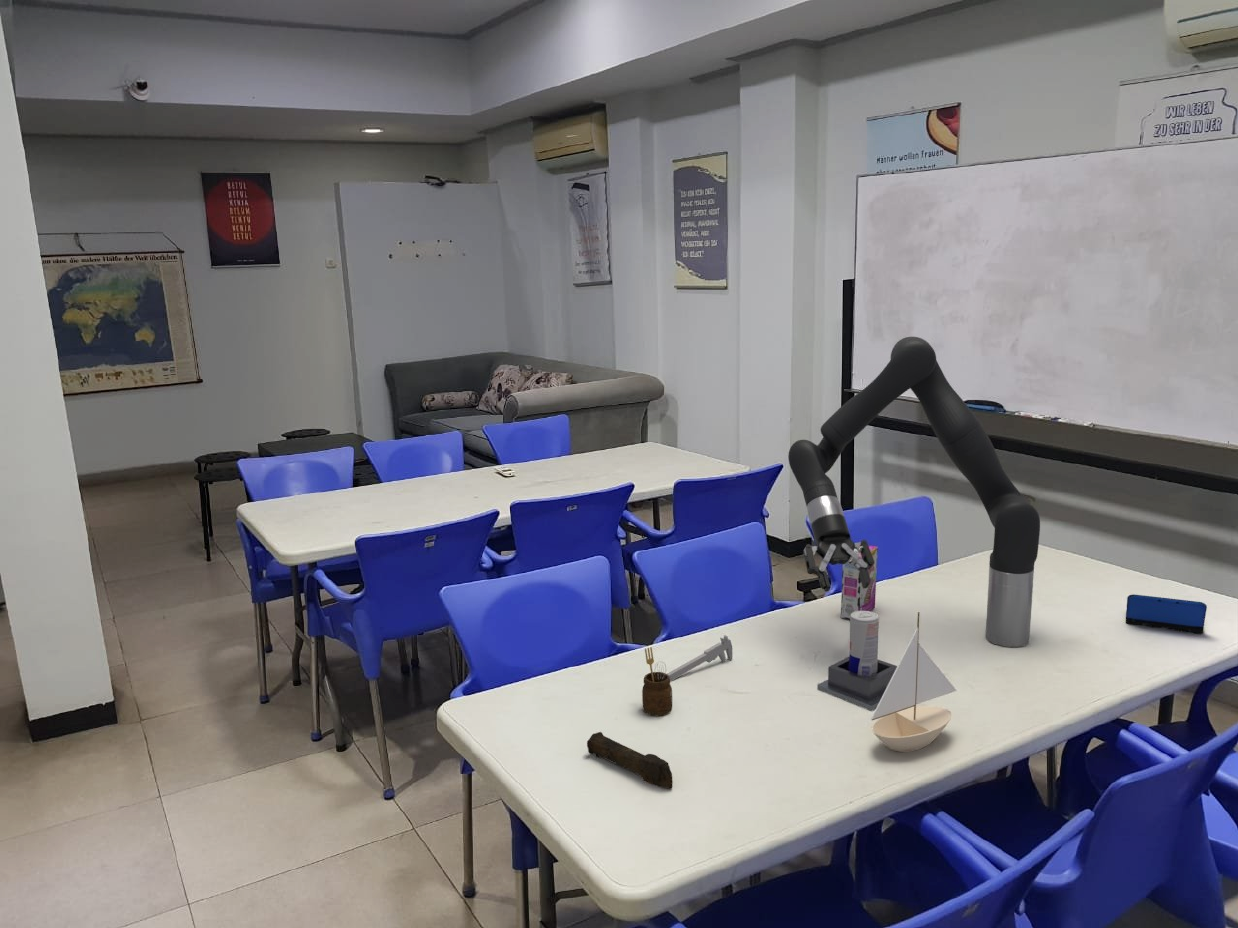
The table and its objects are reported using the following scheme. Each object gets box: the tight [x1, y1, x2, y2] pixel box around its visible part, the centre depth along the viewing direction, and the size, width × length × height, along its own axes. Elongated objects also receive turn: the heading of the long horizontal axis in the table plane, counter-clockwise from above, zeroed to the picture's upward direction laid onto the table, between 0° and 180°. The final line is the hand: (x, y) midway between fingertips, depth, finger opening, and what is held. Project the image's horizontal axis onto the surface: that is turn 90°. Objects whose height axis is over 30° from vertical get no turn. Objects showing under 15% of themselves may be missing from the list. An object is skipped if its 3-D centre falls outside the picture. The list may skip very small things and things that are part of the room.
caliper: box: [666, 634, 733, 682], centre depth 200 cm, size 20×1×6 cm, turn 124°
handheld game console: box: [1125, 594, 1208, 635], centre depth 215 cm, size 16×13×9 cm
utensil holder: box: [641, 646, 673, 717], centre depth 183 cm, size 6×6×12 cm
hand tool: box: [586, 731, 674, 790], centre depth 162 cm, size 19×4×5 cm, turn 43°
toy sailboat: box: [870, 611, 957, 753], centre depth 166 cm, size 21×25×9 cm
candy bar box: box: [840, 544, 879, 621], centre depth 228 cm, size 11×5×16 cm, turn 144°
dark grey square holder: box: [817, 656, 898, 712], centre depth 189 cm, size 13×13×5 cm
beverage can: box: [848, 611, 880, 678], centre depth 188 cm, size 6×6×15 cm
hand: (847, 588), depth 195 cm, fingers open, 8 cm apart
